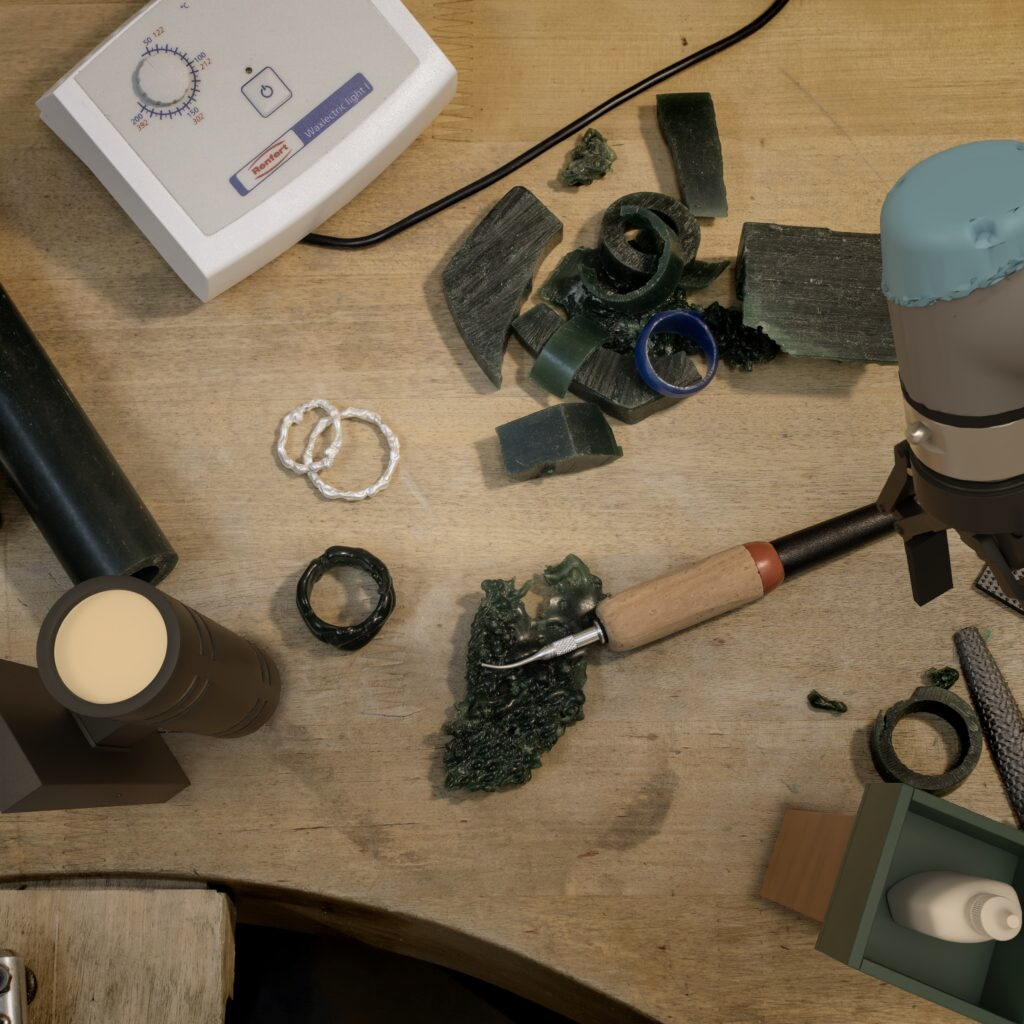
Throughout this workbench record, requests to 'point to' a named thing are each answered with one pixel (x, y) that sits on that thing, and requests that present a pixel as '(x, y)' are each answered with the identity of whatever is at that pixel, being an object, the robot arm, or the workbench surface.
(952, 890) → the eye dropper bottle
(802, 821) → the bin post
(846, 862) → the waste bin
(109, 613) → the light fixture
